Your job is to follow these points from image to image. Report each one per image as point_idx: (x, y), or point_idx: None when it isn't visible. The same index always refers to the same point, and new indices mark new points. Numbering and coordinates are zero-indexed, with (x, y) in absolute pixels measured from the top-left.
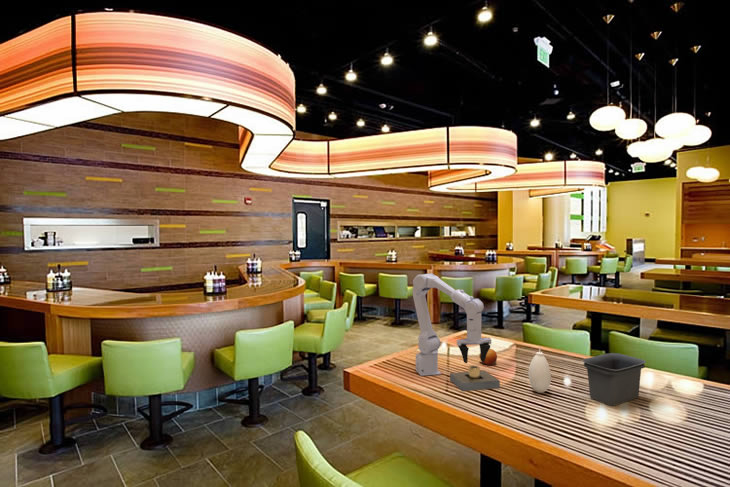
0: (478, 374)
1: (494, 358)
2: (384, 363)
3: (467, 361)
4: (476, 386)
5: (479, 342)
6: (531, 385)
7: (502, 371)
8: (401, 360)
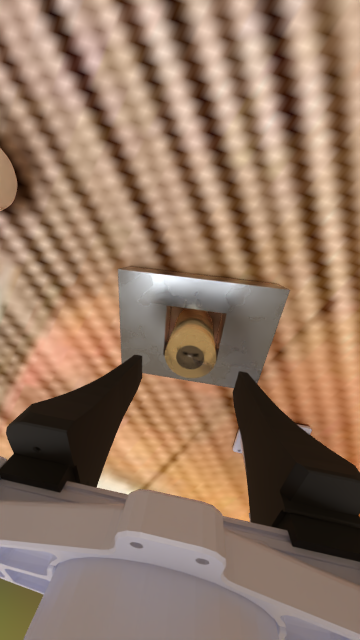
0: (184, 323)
1: None
2: None
3: (241, 376)
4: (220, 279)
5: (154, 528)
6: (10, 182)
7: (60, 372)
8: None
